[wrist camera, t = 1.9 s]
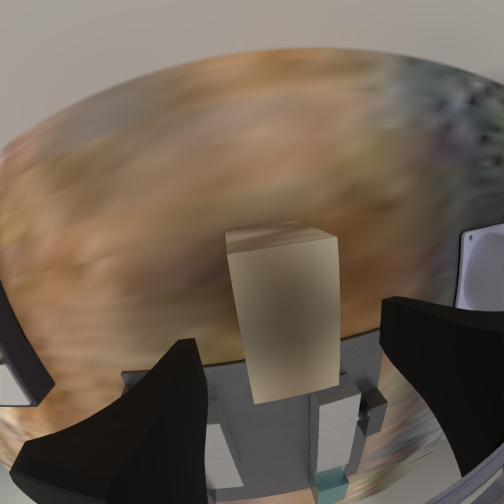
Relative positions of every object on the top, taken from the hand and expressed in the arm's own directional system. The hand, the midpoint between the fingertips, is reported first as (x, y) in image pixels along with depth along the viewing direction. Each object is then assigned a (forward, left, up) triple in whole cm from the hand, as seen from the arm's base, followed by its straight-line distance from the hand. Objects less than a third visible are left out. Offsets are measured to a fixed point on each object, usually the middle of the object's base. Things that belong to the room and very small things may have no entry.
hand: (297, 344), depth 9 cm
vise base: (+1, +16, -7) cm, 17 cm away
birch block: (0, 0, -7) cm, 7 cm away
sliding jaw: (-4, +17, -6) cm, 18 cm away
